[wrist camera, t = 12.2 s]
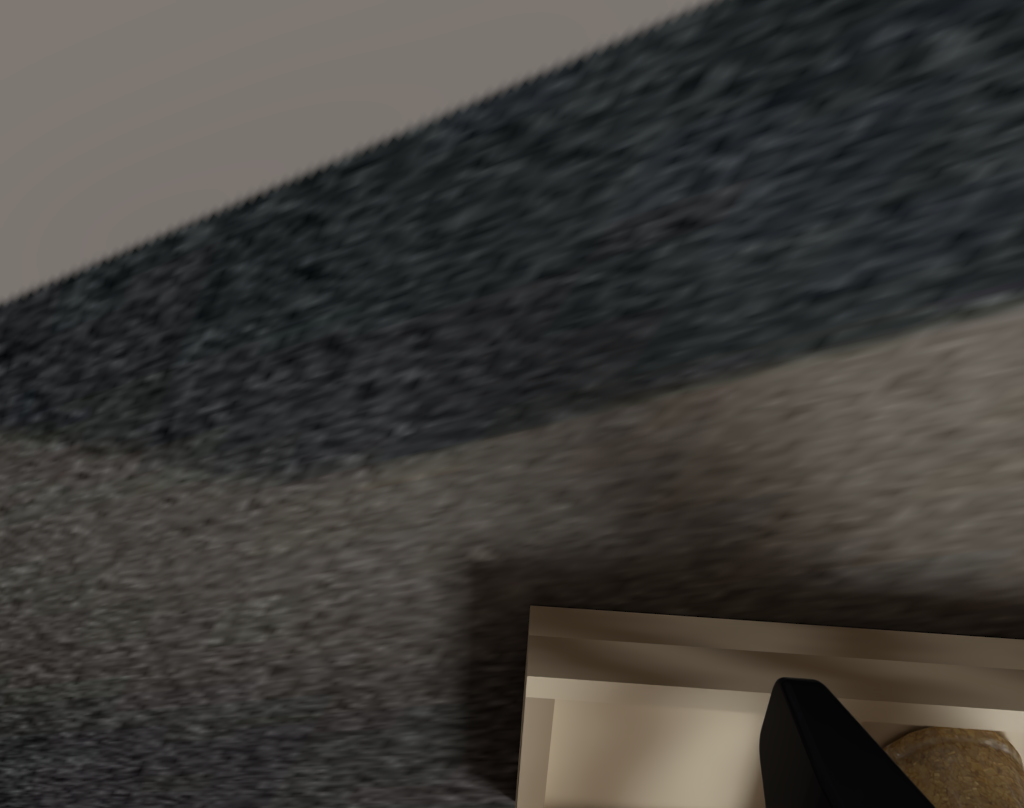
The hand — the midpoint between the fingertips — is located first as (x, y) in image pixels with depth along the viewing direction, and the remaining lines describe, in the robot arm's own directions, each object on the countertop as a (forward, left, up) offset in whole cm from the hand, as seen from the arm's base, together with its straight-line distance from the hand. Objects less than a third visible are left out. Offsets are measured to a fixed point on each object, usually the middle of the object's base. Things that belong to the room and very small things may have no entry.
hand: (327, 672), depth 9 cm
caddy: (+11, -15, -13) cm, 23 cm away
